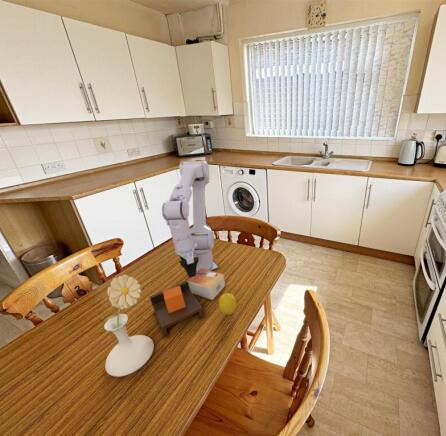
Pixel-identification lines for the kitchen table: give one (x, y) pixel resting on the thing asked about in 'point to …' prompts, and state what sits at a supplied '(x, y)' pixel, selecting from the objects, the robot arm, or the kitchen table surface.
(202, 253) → the robot arm
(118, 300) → the flower in vase
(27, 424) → the kitchen table surface
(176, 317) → the toy bench
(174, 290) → the package
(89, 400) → the kitchen table surface
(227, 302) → the lemon
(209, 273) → the small box
